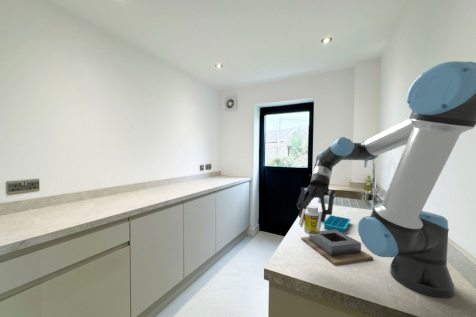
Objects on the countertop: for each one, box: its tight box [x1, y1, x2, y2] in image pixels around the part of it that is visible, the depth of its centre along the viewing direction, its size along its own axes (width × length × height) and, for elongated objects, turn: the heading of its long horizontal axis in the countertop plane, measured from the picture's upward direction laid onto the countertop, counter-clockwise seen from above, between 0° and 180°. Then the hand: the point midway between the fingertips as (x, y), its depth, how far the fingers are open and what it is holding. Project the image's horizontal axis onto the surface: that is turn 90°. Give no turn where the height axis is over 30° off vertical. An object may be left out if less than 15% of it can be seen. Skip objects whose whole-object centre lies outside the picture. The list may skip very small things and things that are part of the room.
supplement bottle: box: [303, 205, 321, 236], centre depth 73 cm, size 6×6×10 cm
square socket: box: [308, 229, 362, 256], centre depth 84 cm, size 14×14×4 cm
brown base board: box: [300, 236, 374, 266], centre depth 84 cm, size 22×18×1 cm
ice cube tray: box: [321, 214, 351, 234], centre depth 112 cm, size 12×20×3 cm, turn 142°
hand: (309, 227), depth 70 cm, fingers closed on supplement bottle, 5 cm apart
